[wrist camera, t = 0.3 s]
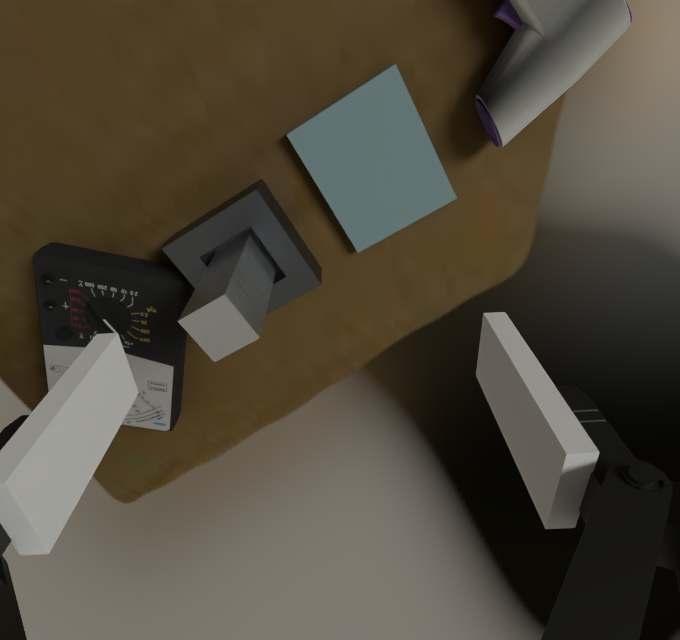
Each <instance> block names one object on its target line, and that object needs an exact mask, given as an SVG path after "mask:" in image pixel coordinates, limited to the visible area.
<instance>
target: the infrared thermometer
mask: <svg viewBox="0 0 680 640" xmlns="http://www.w3.org/2000/svg"><path fill="white" fill-rule="evenodd" d="M493 15H494V17H496V18H499V19H501V20H503V21H504V22H506V23H508V24H509V25H510V26H512V27H513V28H514V29H515V31H514V33H513V34H512V36H511V38H510V39H509V41H508V43H507V44H506V46H505V48H504V49H503V51H502V53H501V54H500V56H499V58H498V59H497V61H496V63H495V64H494V66H493V68H492V69H491V71H490V73H489V74H488V76H487V78H486V79H485V81H484V83H483V84H482V86H481V88H480V89H479V91H478V93H477V95H476V100H475V105H476V109H477V112H478V115H479V117H480V119H481V122H482V124H483V126H484V128H485V130H486V132H487V134H488V135H489V137H490V139H491V140H492V142H493V143H494V144H495V146H497V147H503V146H504V145H506V144H507V143H508V142H509V141H510V140H511V139H512V138H513V137H514V136H515V135H517V134H518V133H519V132H520V131H521V130H522V129H523V128H524V127H525V126H527V125H528V124H529V123H530V122H531V121H532V120H533V119H534V118H536V117H537V116H538V115H539V114H540V113H541V112H542V111H543V110H545V109H546V108H547V107H548V106H549V105H550V104H551V103H552V102H554V101H555V100H556V99H557V98H558V97H559V96H560V95H562V94H563V93H564V92H565V91H566V90H567V89H568V88H569V87H571V86H572V85H573V84H574V83H575V82H576V81H578V79H579V78H580V77H581V76H582V75H583V74H584V73H585V72H586V71H587V70H588V69H589V68H590V67H591V66H592V65H593V64H594V63H595V62H596V61H597V59H598V58H600V57H601V55H602V54H603V53H604V52H605V51H606V50H607V49H608V48H609V47H610V46H611V45H612V44H613V43H614V42H615V41H616V40H617V39H618V38H619V36H621V35H622V34H623V33H624V32H625V30H626V29H627V28H628V27H629V25H630V24H631V22H632V16H631V12H630V9H629V7H628V4H627V2H626V0H500V1H499V3H498V5H497V6H496V8H495V10H494V13H493Z"/></svg>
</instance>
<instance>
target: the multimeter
mask: <svg viewBox="0 0 680 640" xmlns="http://www.w3.org/2000/svg"><path fill="white" fill-rule="evenodd" d="M33 264H34V273H35V282H36V290H37V299H38V308H39V317H40V326H41V335H42V343H43V352H44V361H45V370H46V379H47V387H48V392H49V391H50V390H51V389H52V388H53V386H54V385H55V384H56V383H57V382H58V380H59V379H60V378H61V377H62V375H63V374H64V373H65V372H66V371H67V369H68V368H69V367H70V366H71V365H72V363H73V362H74V361H75V360H76V359H77V357H78V356H79V355H80V354H81V352H82V351H83V350H84V349H85V348H86V346H87V345H88V344H89V343H90V342H91V340H92V339H93V338H94V337H95V336H96V334H107V333H118V335H119V338H120V340H121V343H122V346H123V349H124V352H125V355H126V358H127V361H128V363H129V366H130V369H131V372H132V375H133V378H134V381H135V383H136V386H137V389H138V392H139V393H138V395H137V397H136V399H135V401H134V402H133V404H132V406H131V408H130V409H129V411H128V413H127V415H126V417H125V418H124V420H123V422H122V425H129V426H135V427H142V428H149V429H155V430H162V431H172V430H173V428H174V427H175V425H176V423H177V421H178V418H179V415H180V411H181V399H182V386H183V372H184V359H185V346H186V332H187V331H186V330H185V329H184V328H183V327H182V326H181V325H180V324H179V322H178V319H179V318H180V316H181V314H182V312H183V310H184V309H185V307H186V305H187V303H188V301H189V293H190V282H189V281H188V280H187V278H186V277H185V276H184V275H183V274H182V272H181V271H180V270H179V269H178V268H177V267H176V266H172V265H167V264H162V263H157V262H152V261H147V260H142V259H137V258H132V257H127V256H122V255H117V254H111V253H106V252H101V251H96V250H91V249H86V248H81V247H76V246H71V245H66V244H61V243H56V242H55V243H49V244H47V245H45V246H44V247H42V248H41V249H39V250H38V251H37V252H36V253H35V254H34V256H33Z"/></svg>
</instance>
